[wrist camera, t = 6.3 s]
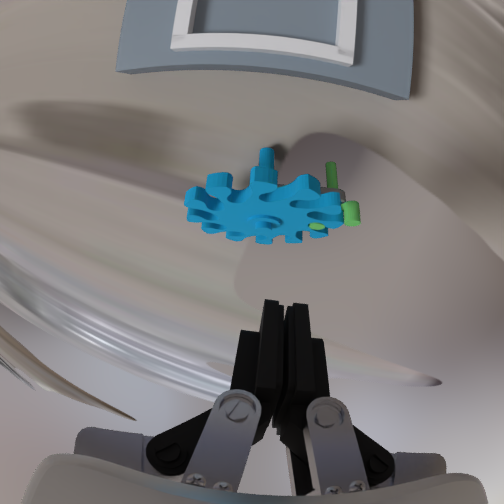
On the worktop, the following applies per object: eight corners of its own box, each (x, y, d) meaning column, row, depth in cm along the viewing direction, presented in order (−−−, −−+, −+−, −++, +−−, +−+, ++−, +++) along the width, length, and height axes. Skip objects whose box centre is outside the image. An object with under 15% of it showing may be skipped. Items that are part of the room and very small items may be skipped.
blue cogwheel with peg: (201, 248, 22) (157, 192, 12) (209, 183, 24) (180, 104, 14) (338, 255, 21) (389, 203, 12) (335, 189, 23) (371, 113, 13)
